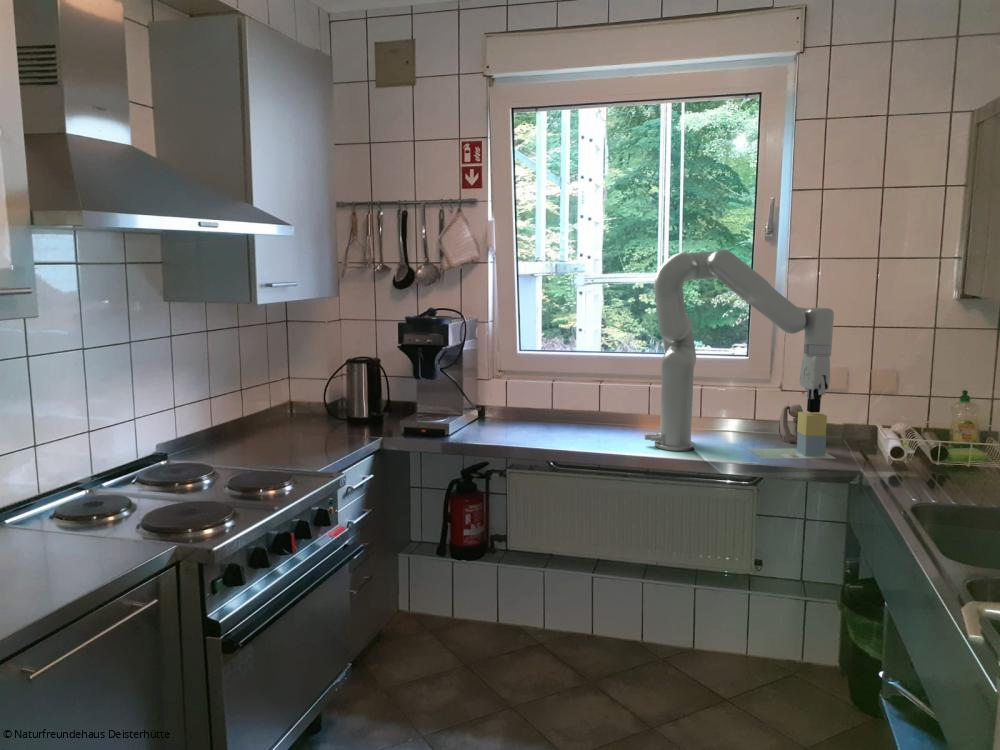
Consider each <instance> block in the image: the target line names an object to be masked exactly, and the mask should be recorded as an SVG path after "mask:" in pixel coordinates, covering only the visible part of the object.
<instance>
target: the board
mask: <svg viewBox="0 0 1000 750" xmlns="http://www.w3.org/2000/svg"><path fill="white" fill-rule="evenodd" d="M796 450H797V448H747V451H750V452H751V453H753V454H754V455H756V456H757V457H758V458H760V459H762V460H763V459H764V460H769V459H770V460H787V459H788V460H795V459H796V460H797V459H798V460H799V459H800V460H805V459H809V460H810V459H811V460H812V459H818V460H821V459H824V460H825V459H827V460H828V459H830V460H831V459H837V458H836V457H835V456H833V455H831V454H829V453H827V452H825V456H804V455H803V454H801V453H799V452H797V451H796Z"/></svg>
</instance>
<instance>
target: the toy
mask: <svg viewBox="0 0 1000 750" xmlns="http://www.w3.org/2000/svg"><path fill="white" fill-rule="evenodd" d="M787 404H790V403H789V401H788V402H787ZM787 404H786V405H784V406H783V407H782V409H781V413H780V417H779V426H778V432H779V435H780V438H781V439H782V441H783V442H784V441H785V442H786V443H787V444H793V443H797V439H796V438H795V437H794V435H793V434H792V433H791V430H790V427H789V423H788V415H790V416H791V417H792V418H793V419H792V422H793V423H794V430H795V435H796V436H797V434H798V432H797V424H798V412H804V410H803V408H802V406H801V405H800V404H799V403H796V404H791V405H787Z"/></svg>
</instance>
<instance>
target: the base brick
mask: <svg viewBox="0 0 1000 750" xmlns="http://www.w3.org/2000/svg"><path fill="white" fill-rule="evenodd" d="M796 438H797V439H796V440H797V442H796V449H797V450H796V451H797V452H799V453H801V454H803V455H804V456H825V453H826V448H827V435H826V436H805V435H803V434H801V433H799V432H798V434H797V435H796Z"/></svg>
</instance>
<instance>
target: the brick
mask: <svg viewBox="0 0 1000 750" xmlns="http://www.w3.org/2000/svg"><path fill="white" fill-rule="evenodd" d="M827 421H828V415H827V414H824V413H822V412H821V411H820V412H815V413H810V412H808V411H803V412H798V424H797V432H799V433H801V434H803V435H805V436H826V437H827V424H828V423H827Z"/></svg>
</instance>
